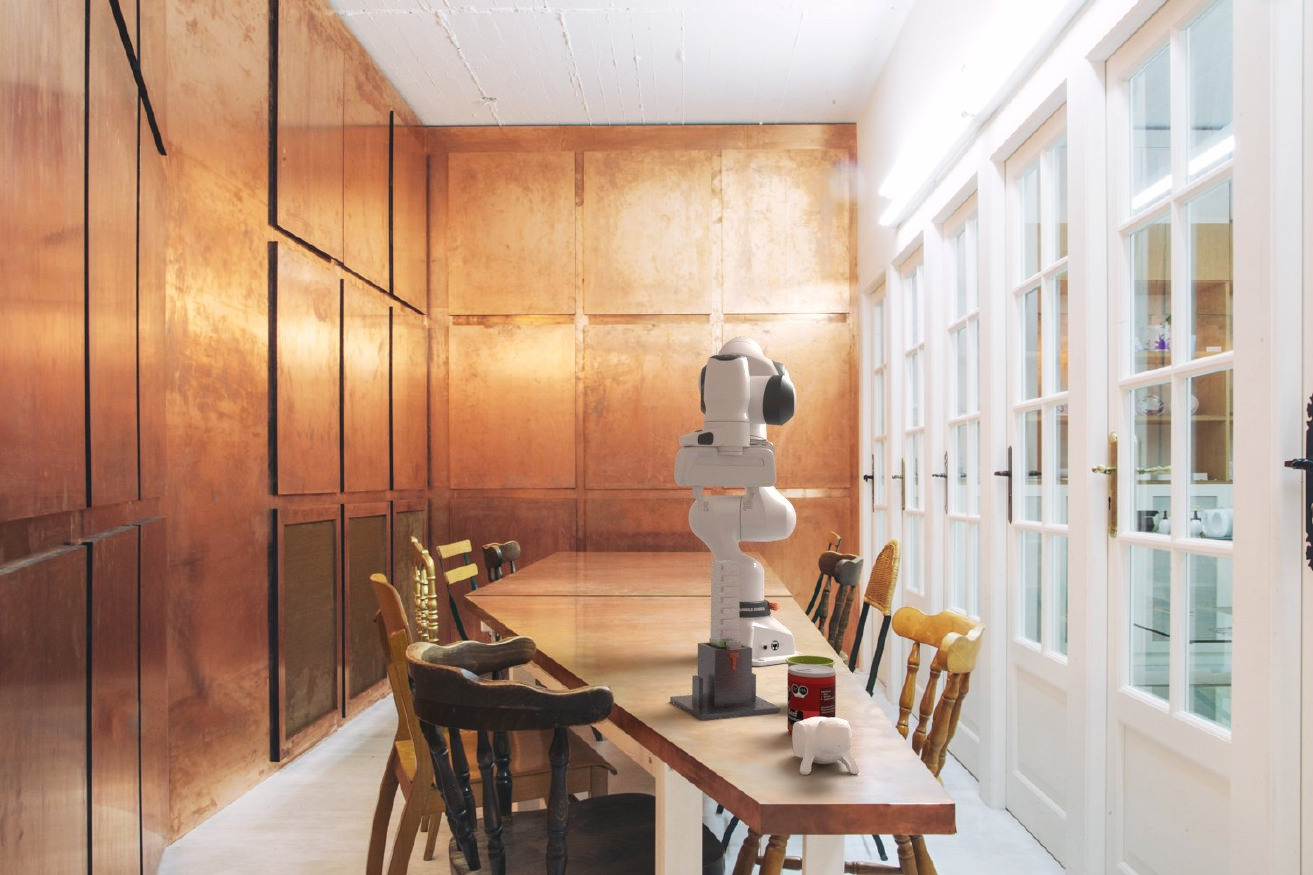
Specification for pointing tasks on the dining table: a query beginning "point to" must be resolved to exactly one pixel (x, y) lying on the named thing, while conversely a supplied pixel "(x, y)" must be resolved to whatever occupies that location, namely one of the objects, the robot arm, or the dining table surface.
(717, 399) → the robot arm
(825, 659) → the plant pot
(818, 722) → the white molar tooth
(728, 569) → the column
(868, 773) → the dining table surface
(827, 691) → the canned food
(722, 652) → the stand
